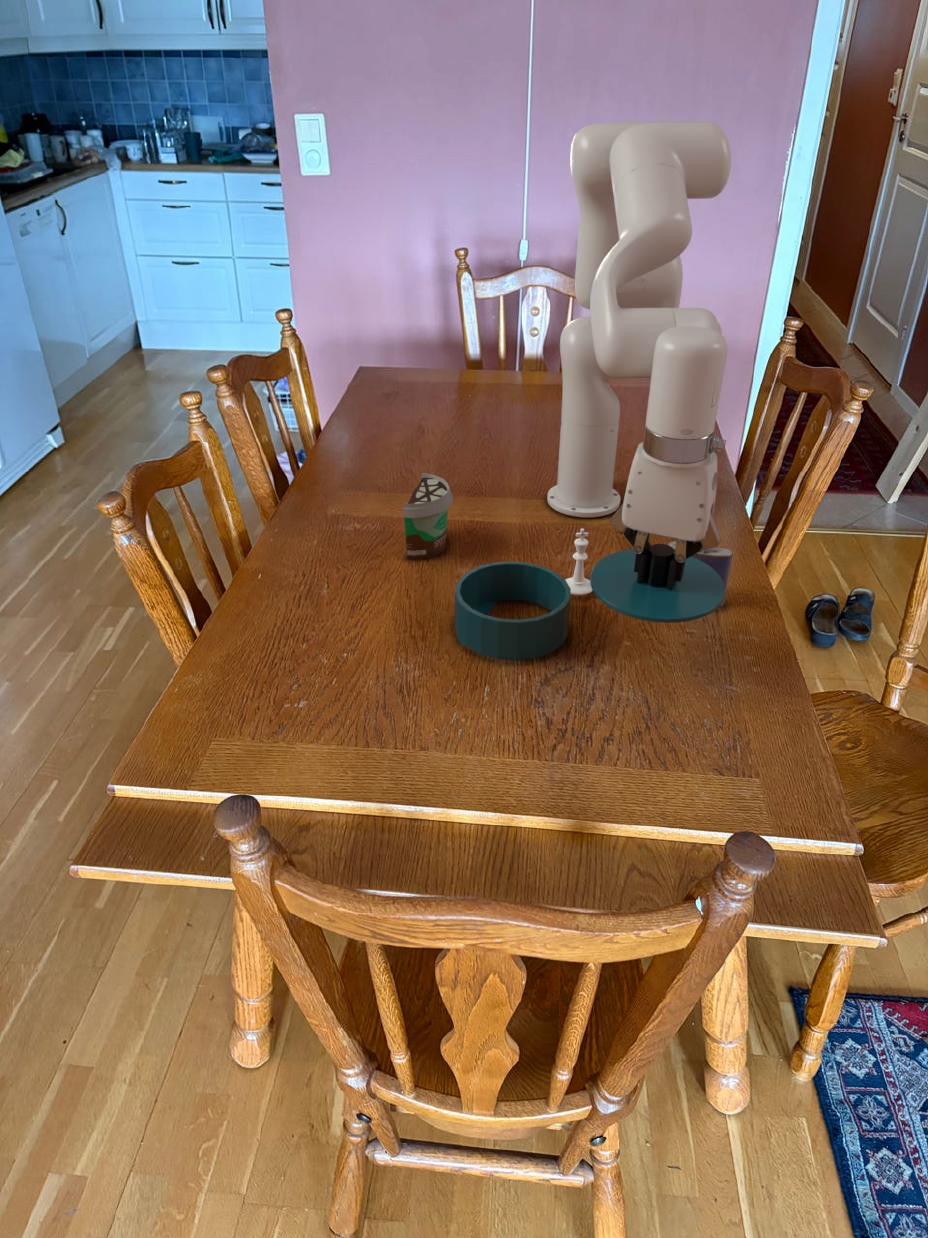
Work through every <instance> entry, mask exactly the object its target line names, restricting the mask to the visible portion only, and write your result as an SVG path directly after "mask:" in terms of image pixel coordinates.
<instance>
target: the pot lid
mask: <svg viewBox="0 0 928 1238" xmlns="http://www.w3.org/2000/svg"><path fill="white" fill-rule="evenodd" d="M666 544H667V543H654V544H651V546H650V548H649V554H648V561H647V568H646V576H645V580H644V582H642V583H638V582H637V577H638V573H637V572H634V566H635V558H636V553H635V552H634V550H633V548H630V549H623V550H620V551H616V552H613V553H610V554H608V555H606V556H605V557H603V558H601V559H600V560H598V562H596V563H595V565H594V566H593V567H592V570H591V572H590V575H589V576H590V577H589V580H590V584H591V588H592V590H593V591H592V592H593V594H594V595H595V596H596V598H597V599H598V600H599V601H600V602H601V603H602V604H604V605H605V606H607V607H608V608H609V609H612V610H614V611H615V612H617V613H619V614H622V615H624V616H626V617H630V618H632V619H633V618H634V619H637V620H640V621H645V622H650V623H651V622H652V623H659V624H660V623H662V624H676V623H686V622H687V623H688V622H692V621H695V620H698V619H702V618H704V617H707V616H709V615H710V614H712V613H714V612H715V611H716V610H718V608H720V607H719V606H720V605H721V603H722V601H723V599H724V595H725V596H726V594H725V586H724V582H723V580H722V578H721V577H720V576H719V574H718V573H717V572H716V571H715V570H714V569H713V568H711V567H710V566H709V565H707V564H706V563H704V562H702V561H700V560H698V559H696V558H694V557H689V558H687V559H686V560H685V566H684V573H683V577H682V580H681V582H678V581H676V583H675V585H674V587H673V590H670V589H668V588H667V581H668V575H669V568H670V562H671V560H672V558H673V556H674V554H675V551H674V549H673V548H672V547H671V546H669V545H666ZM724 600H725V599H724Z"/></svg>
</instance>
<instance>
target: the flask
mask: <svg viewBox="0 0 928 1238" xmlns="http://www.w3.org/2000/svg"><path fill="white" fill-rule="evenodd" d="M665 544H666V545H669V546H671V547H672V548H673V549H674V551H675V552H676V540H674V541H669V542H667V543H665ZM691 557H694V558H696V559H698V560H700V561H702V562H704V563H706V564H707V565H709V566H710V567H711V568H713V569H714V570H715V571H716V572H717V573H718V574H719V576H720V577H721V578H722V580H723V582H724V586H725V595H724V599H723V601H722V603H721V605H720V606H719V607H718V608H721V607H723V606H724V604H725V599H726V594H727V588H728V583H729V575H730V570H731V565H732V559H733V552H732V551H731V550H730V549H729V548H725V547H714V548H710V549H706V550H700V551H699V552H698V553H696V554H694V555H693V556H691Z"/></svg>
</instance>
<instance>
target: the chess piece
mask: <svg viewBox="0 0 928 1238" xmlns="http://www.w3.org/2000/svg"><path fill="white" fill-rule="evenodd" d="M575 537H576V539H575V540H574V542H573V544H574V546H575V551H576V552H574V553H573V555H572V558H573V559H574V560H576V561H575V567H574V571H573V575H572V576H571V577H568V578H565V580H566V582H567V584H568V585H569V587H570V589H571V595H573V596H574V595H575V596H584V595H589V594H591V593H592V592H593V590H592V588H591V584H590V579H588V578H586V577H585V569H584V567H585V566H584V561H586V560H588V558H589V557H588V554H587V553H586V550H587V548H588V546H589V540H588V539H586V538H587V537H589V532H588V531H587V532H585V529H584V528H580V531H579V532H575ZM585 537H586V538H585Z"/></svg>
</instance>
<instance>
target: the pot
mask: <svg viewBox="0 0 928 1238" xmlns="http://www.w3.org/2000/svg"><path fill="white" fill-rule="evenodd" d="M571 596H572V594H571V589H570V587H569V585H568V584H567V582H566V578H564V577H562V576H561V575H560V574H559V573H557V572H556V571H555V570H552V569H550V568H547V567H545V566H542V565H540V564H539V565H538V564H534V563H530V562H524V561H509V560H508V561H506V560H505V561H498V562H490V563H486V564H483V565H480V566H479V565H478V566H477V567H474V568H472V569H470V570H469V571H467V572H465V573H464V574H462V576H461V577H460V578H459V579H458V580H457V582H456V583H455V589H454V631H455V636H456V639H457V640H458V642H459V643H460V645H461V646H462V647H466V648H467V649H469V650H471V651H473V652H475V653H476V654H479V655H480V656H484V657H487V658H492V659H496V660H501V661H503V660H504V661H525V660H533V659H538V658H539V657H540V658H541V657H543V656H547V655H549V654H551V653H553V652H554V651H555V650H557V649H559V648H560V647H561V646H562V645H563V644H564V642H565V641H566V639H567V638H568V637H569V635H568V634H569V624H570V612H571V601H572V600H571V598H572V597H571ZM507 600H509V601H523V602H528V603H530V604H531V603H532V604H535V605H538V606H541V607H543V608H545V609H547V610H549V611H550V612H548V613H545V614H542V615H538V616H535V617H530V618H522V619H513V618H500V617H496V616H491V615H489V614H490V613H491V611H492V610H493V608H494V607H495V606H496V604H498V602H499V601H507Z"/></svg>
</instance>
